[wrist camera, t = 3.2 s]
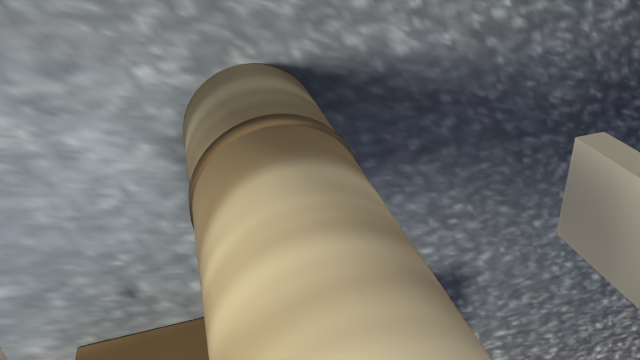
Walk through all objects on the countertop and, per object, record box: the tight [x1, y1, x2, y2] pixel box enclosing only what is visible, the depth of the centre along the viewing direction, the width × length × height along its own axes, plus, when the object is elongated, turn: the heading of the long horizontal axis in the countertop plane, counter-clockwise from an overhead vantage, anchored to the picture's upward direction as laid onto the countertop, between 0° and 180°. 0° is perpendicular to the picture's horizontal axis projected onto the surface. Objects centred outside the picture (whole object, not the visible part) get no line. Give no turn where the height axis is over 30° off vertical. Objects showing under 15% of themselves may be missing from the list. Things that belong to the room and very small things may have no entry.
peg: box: [183, 64, 492, 360], centre depth 11 cm, size 4×4×12 cm
